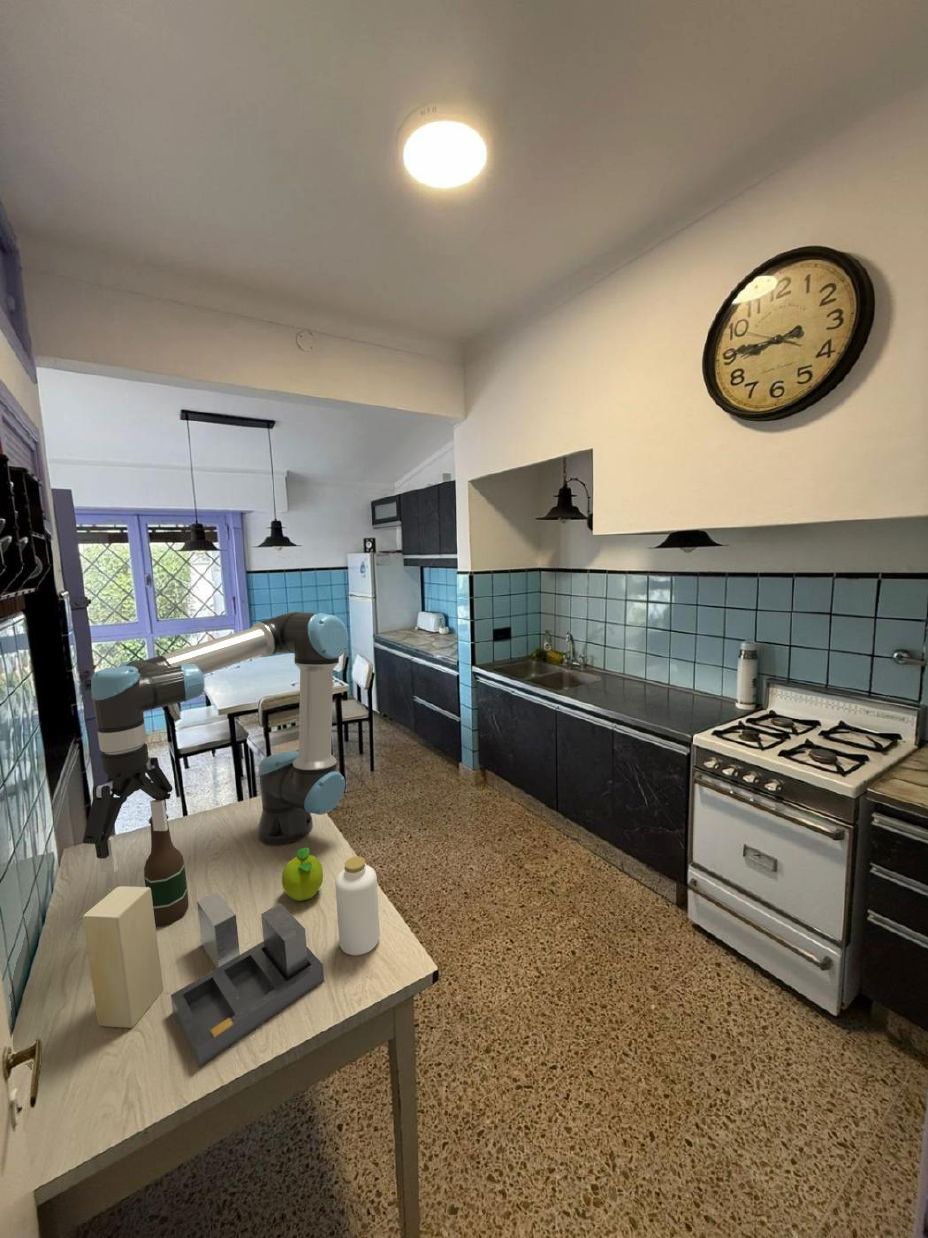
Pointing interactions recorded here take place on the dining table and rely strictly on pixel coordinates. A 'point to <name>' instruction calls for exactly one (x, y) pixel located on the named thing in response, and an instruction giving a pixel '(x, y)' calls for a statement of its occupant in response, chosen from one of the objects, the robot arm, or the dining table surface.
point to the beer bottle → (166, 878)
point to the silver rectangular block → (218, 929)
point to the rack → (247, 988)
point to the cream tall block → (123, 956)
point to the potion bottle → (357, 907)
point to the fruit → (302, 876)
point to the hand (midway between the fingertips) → (136, 849)
